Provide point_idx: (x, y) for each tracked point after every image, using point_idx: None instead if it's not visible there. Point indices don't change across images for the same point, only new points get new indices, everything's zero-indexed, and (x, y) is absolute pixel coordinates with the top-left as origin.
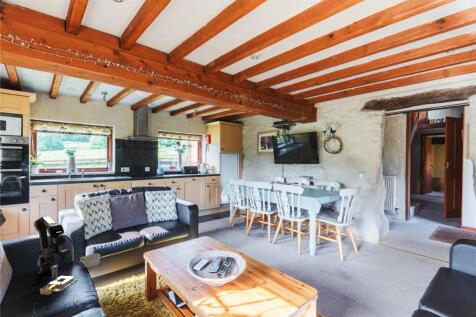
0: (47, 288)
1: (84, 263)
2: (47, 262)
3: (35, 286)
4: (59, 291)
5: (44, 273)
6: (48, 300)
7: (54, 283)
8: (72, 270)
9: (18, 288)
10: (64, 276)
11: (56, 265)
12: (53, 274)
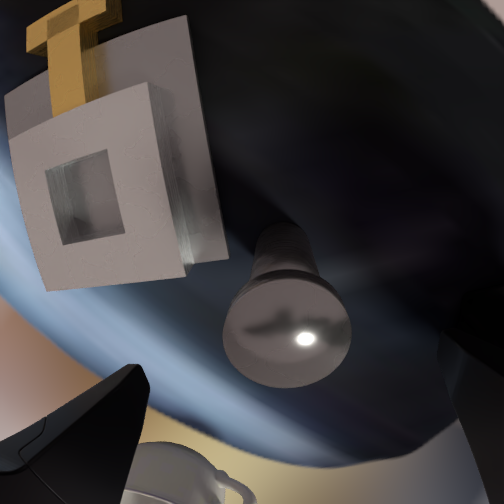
0: (72, 34)
1: (176, 471)
2: (471, 345)
3: (330, 60)
4: (6, 95)
5: (475, 295)
6: (5, 10)
7: (80, 115)
8: (265, 408)
9: (450, 15)
10: (130, 272)
11: (276, 368)
12: (267, 247)
